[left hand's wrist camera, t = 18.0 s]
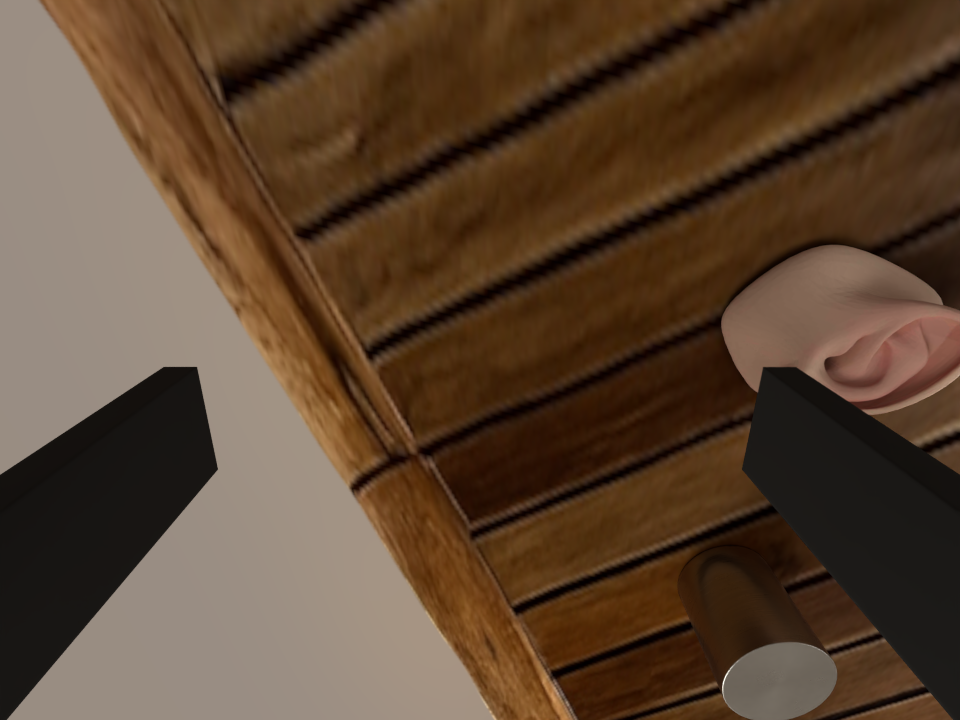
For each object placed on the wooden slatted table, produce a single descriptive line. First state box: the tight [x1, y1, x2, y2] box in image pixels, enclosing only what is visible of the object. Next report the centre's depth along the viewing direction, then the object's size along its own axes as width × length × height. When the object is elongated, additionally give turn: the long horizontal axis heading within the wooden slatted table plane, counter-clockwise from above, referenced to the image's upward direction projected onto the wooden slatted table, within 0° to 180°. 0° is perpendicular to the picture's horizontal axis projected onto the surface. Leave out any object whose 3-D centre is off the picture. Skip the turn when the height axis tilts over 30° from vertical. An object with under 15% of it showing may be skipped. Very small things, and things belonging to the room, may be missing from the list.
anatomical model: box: [721, 245, 960, 415], centre depth 33 cm, size 13×4×12 cm
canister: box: [678, 546, 837, 720], centre depth 39 cm, size 7×7×9 cm
